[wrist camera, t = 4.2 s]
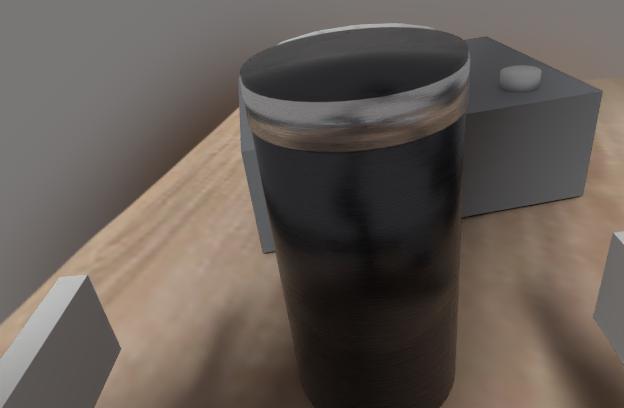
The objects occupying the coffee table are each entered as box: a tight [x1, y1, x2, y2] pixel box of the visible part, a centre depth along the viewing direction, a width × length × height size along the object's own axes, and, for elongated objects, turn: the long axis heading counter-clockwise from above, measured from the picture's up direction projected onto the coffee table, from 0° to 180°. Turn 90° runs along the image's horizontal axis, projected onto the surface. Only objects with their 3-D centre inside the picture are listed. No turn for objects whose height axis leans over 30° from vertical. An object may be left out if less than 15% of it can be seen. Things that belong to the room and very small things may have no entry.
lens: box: [240, 27, 470, 408], centre depth 16 cm, size 6×6×12 cm
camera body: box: [238, 23, 603, 253], centre depth 30 cm, size 18×13×8 cm
